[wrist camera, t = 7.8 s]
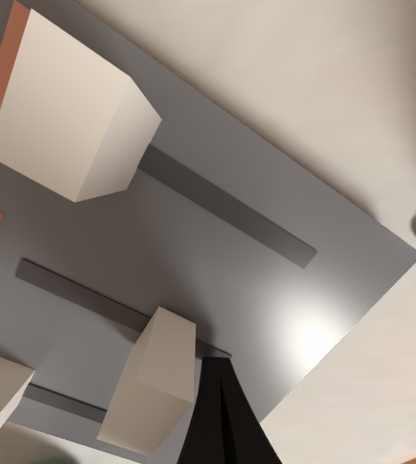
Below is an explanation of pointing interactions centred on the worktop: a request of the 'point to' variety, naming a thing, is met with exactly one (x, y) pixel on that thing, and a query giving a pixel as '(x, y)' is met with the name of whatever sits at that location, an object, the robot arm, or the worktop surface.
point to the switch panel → (155, 232)
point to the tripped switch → (153, 385)
